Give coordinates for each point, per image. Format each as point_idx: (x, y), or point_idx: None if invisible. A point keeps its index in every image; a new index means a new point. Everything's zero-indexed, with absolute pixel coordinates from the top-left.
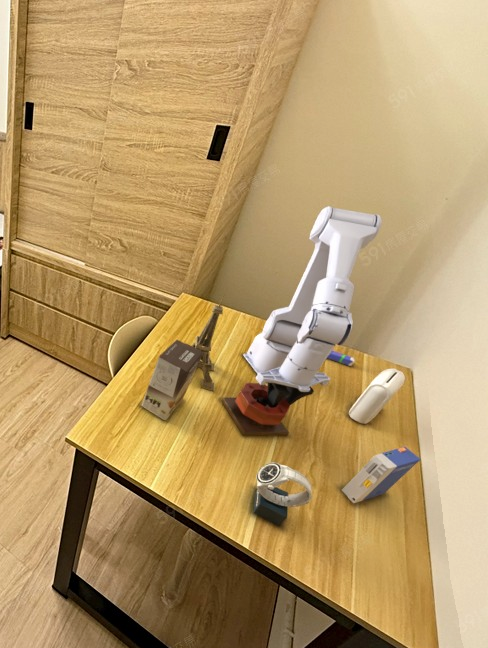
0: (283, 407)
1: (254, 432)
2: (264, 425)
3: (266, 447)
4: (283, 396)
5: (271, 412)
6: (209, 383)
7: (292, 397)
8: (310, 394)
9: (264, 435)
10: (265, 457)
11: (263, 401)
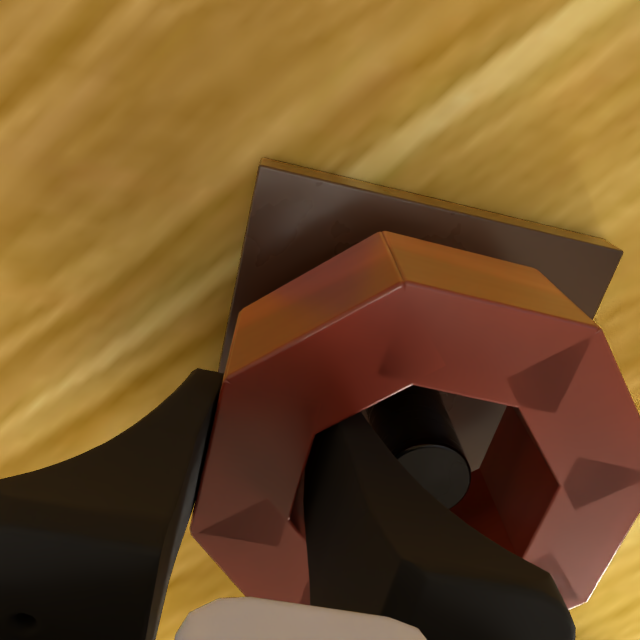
0: (332, 372)
1: (550, 233)
2: None
3: (523, 101)
4: (395, 511)
5: (534, 343)
6: None
7: (189, 468)
8: (8, 483)
9: (446, 201)
10: (620, 16)
11: (433, 471)
